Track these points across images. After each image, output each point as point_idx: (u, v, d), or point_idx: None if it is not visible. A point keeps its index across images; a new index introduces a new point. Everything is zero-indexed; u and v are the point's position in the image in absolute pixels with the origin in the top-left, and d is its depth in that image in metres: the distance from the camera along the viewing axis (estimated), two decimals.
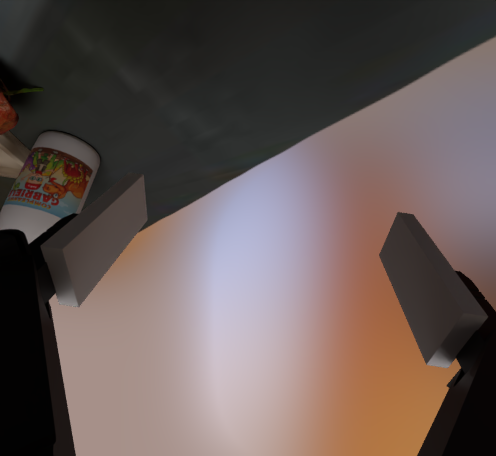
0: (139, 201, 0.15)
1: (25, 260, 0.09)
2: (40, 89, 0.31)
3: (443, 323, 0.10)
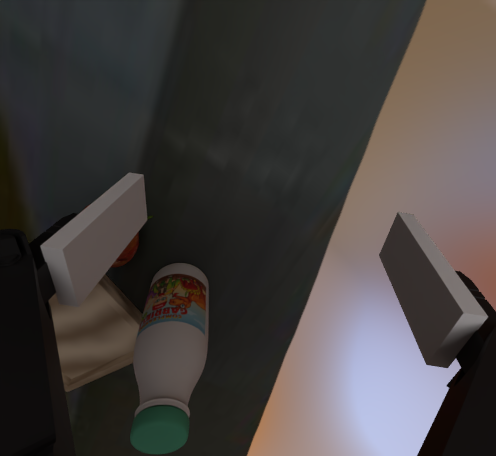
0: (139, 201, 0.15)
1: (25, 260, 0.09)
2: (150, 216, 0.36)
3: (443, 323, 0.10)
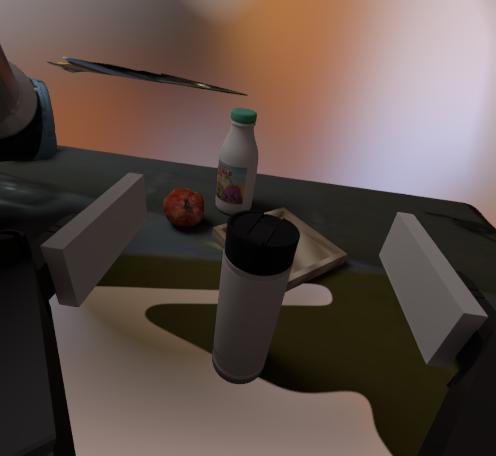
0: (139, 201, 0.15)
1: (25, 260, 0.09)
2: None
3: (443, 323, 0.10)
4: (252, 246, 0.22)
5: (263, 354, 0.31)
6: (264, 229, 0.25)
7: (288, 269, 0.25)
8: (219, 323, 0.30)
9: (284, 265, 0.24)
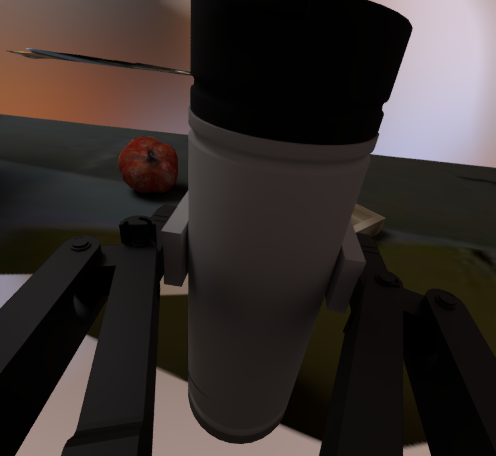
0: None
1: (151, 245, 0.11)
2: None
3: (336, 272, 0.12)
4: None
5: (292, 380, 0.15)
6: None
7: (374, 140, 0.09)
8: (193, 317, 0.13)
9: (370, 116, 0.08)
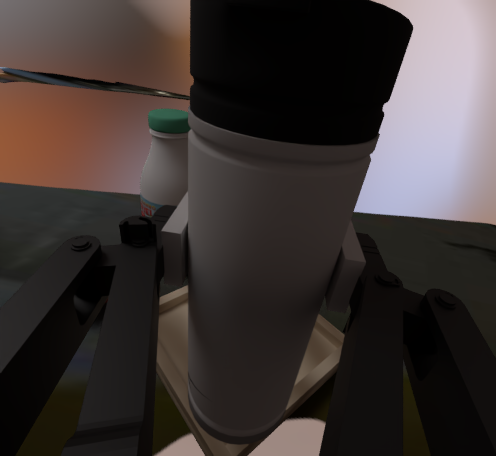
0: None
1: (151, 245, 0.11)
2: None
3: (337, 272, 0.12)
4: None
5: (291, 381, 0.15)
6: None
7: (374, 141, 0.09)
8: (192, 318, 0.13)
9: (370, 116, 0.08)
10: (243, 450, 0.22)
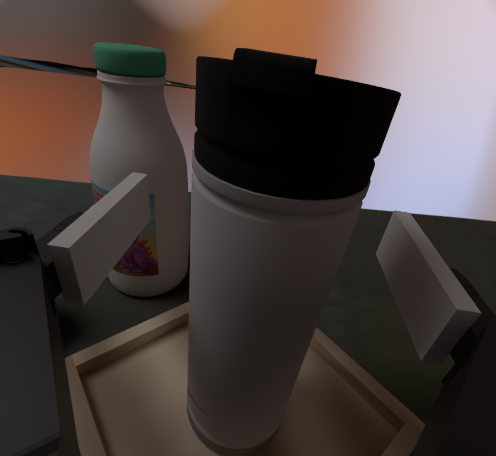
0: (143, 200, 0.15)
1: (32, 258, 0.09)
2: None
3: (437, 319, 0.10)
4: (280, 72, 0.06)
5: (286, 398, 0.16)
6: None
7: (365, 190, 0.09)
8: (193, 340, 0.14)
9: (361, 172, 0.09)
10: None
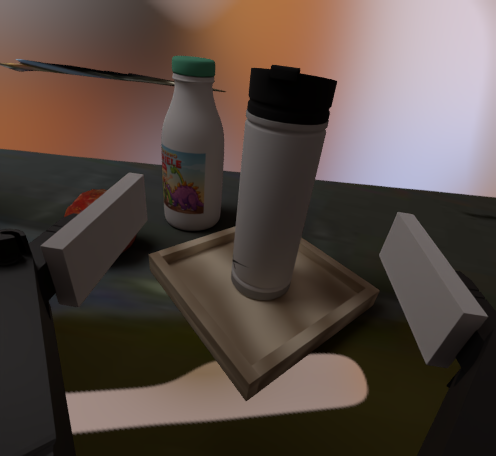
0: (139, 201, 0.15)
1: (25, 260, 0.09)
2: None
3: (443, 323, 0.10)
4: (287, 73, 0.18)
5: (292, 258, 0.27)
6: None
7: (324, 124, 0.21)
8: (241, 217, 0.26)
9: (321, 114, 0.21)
10: (269, 371, 0.22)
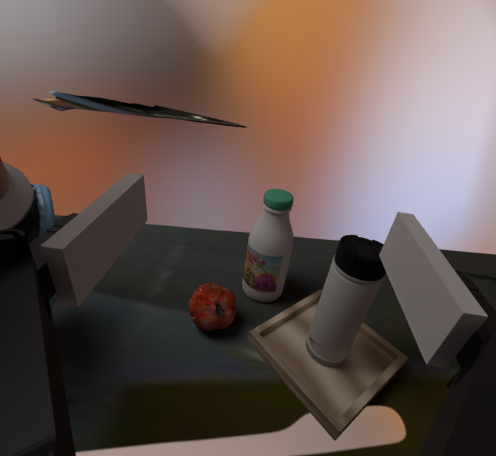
0: (139, 201, 0.15)
1: (25, 260, 0.09)
2: None
3: (443, 323, 0.10)
4: (369, 261, 0.33)
5: (353, 341, 0.42)
6: (365, 248, 0.36)
7: None
8: (323, 319, 0.40)
9: (383, 273, 0.35)
10: (348, 422, 0.36)
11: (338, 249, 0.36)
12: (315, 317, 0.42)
